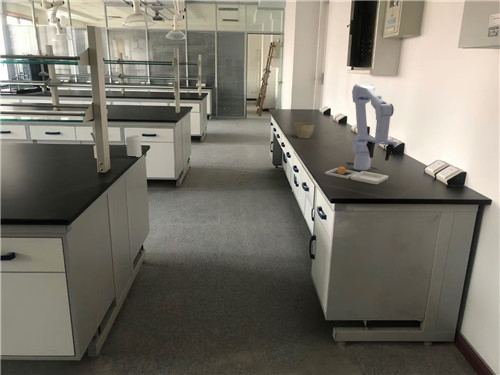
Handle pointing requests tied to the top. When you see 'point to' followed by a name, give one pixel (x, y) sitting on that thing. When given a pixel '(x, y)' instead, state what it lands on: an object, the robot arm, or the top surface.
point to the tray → (340, 175)
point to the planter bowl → (304, 129)
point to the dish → (369, 177)
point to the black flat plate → (353, 164)
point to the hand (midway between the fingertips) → (378, 159)
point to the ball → (341, 170)
